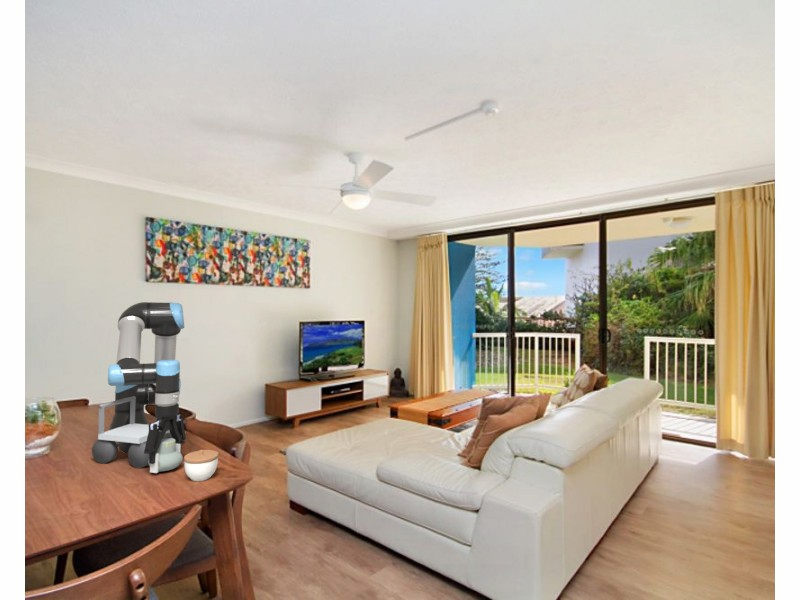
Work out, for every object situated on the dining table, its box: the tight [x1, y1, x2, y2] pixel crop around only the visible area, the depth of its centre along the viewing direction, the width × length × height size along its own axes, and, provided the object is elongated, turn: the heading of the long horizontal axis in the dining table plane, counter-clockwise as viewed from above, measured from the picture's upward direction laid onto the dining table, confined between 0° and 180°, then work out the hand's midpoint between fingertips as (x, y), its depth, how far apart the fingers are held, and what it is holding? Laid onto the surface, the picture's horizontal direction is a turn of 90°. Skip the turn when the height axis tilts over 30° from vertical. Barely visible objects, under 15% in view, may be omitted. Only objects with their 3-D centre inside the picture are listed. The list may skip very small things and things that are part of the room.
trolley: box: [91, 396, 173, 469], centre depth 163 cm, size 15×25×22 cm, turn 77°
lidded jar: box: [183, 449, 220, 482], centre depth 147 cm, size 11×11×9 cm
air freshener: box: [148, 438, 184, 473], centre depth 153 cm, size 11×8×10 cm
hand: (165, 466), depth 153 cm, fingers open, 10 cm apart
